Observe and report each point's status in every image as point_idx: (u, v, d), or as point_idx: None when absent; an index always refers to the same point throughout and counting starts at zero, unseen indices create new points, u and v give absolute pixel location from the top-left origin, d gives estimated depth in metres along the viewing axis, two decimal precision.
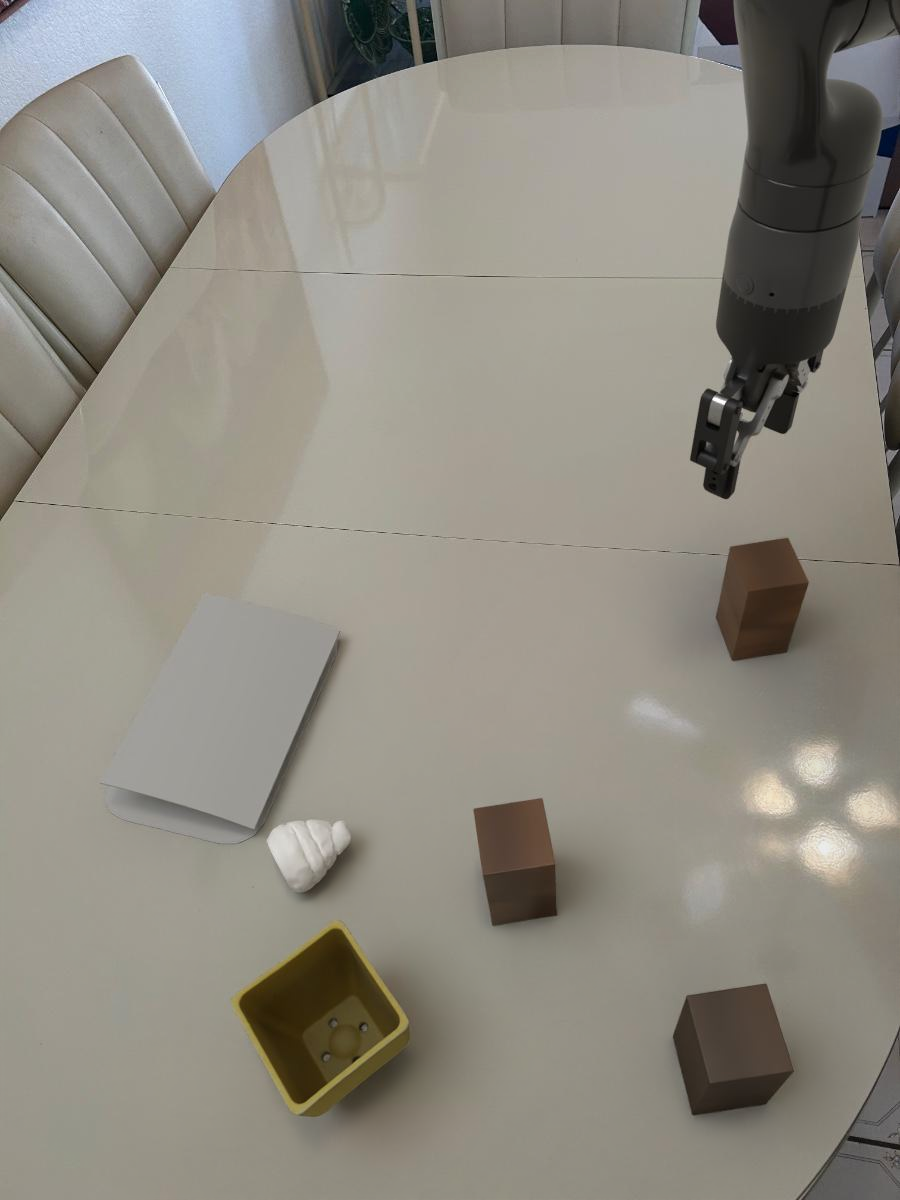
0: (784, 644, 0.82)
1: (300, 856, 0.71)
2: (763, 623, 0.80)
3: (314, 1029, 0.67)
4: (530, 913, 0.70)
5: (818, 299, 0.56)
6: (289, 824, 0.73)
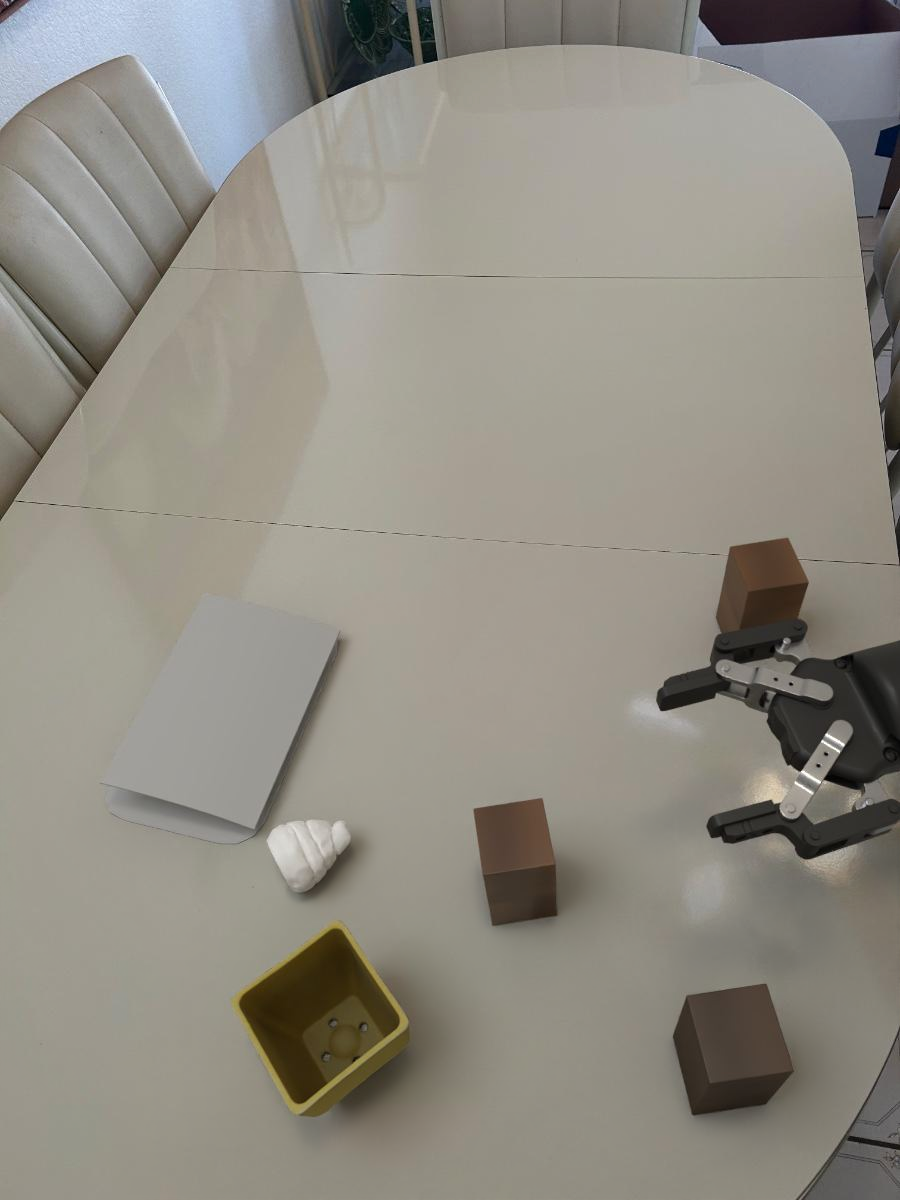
0: None
1: (300, 856, 0.71)
2: (763, 623, 0.80)
3: (314, 1029, 0.67)
4: (530, 913, 0.70)
5: None
6: (289, 824, 0.73)
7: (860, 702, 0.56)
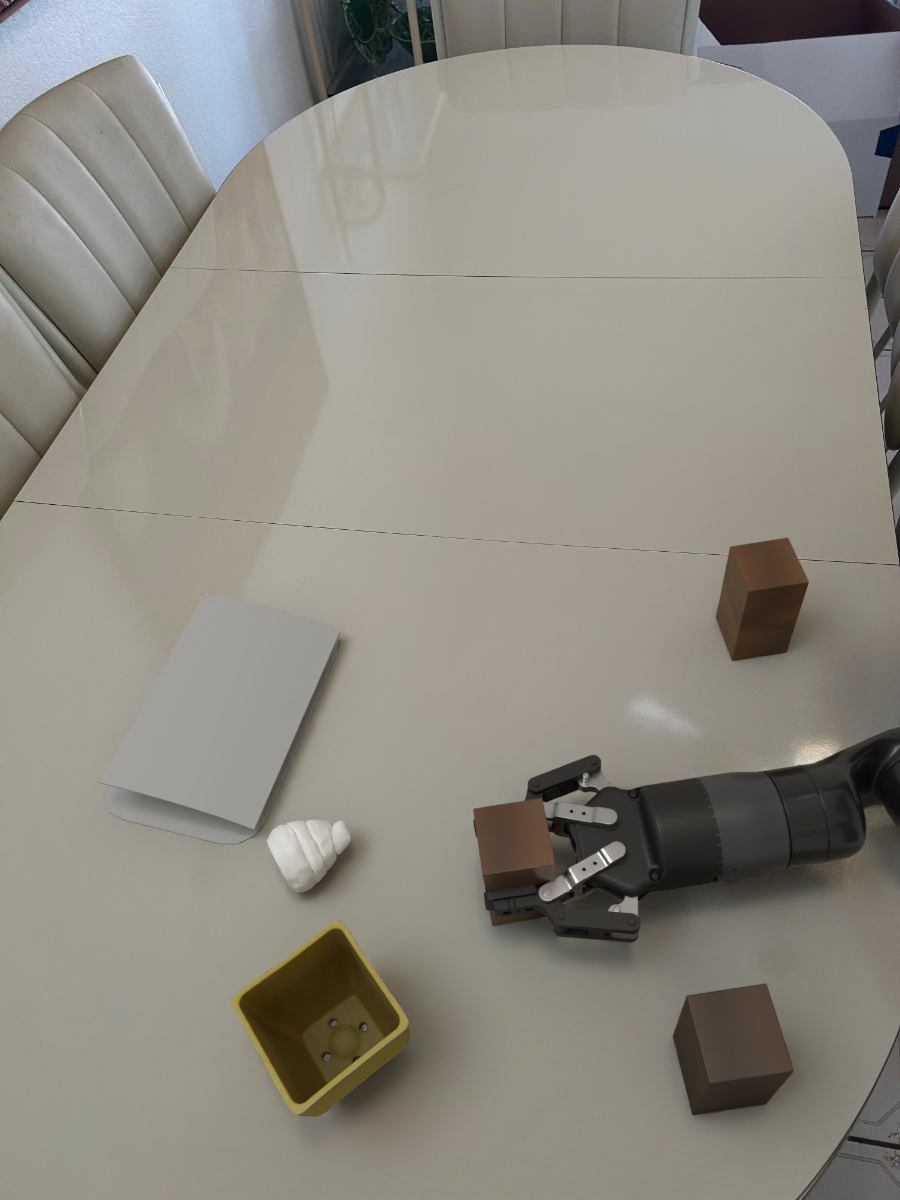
0: (784, 644, 0.82)
1: (300, 856, 0.71)
2: (763, 623, 0.80)
3: (314, 1029, 0.67)
4: (530, 913, 0.70)
5: (708, 783, 0.67)
6: (289, 824, 0.73)
7: (640, 828, 0.67)
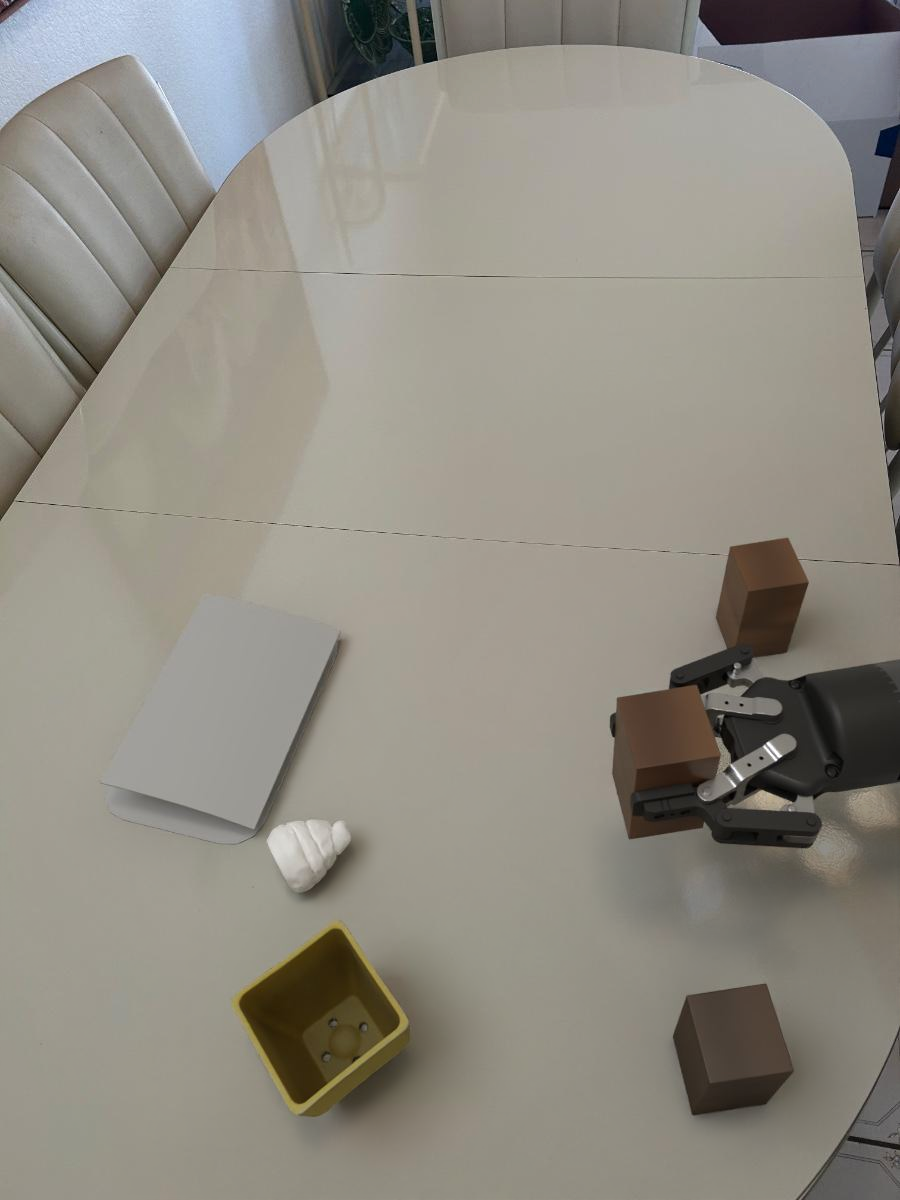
0: (784, 644, 0.82)
1: (300, 856, 0.71)
2: (763, 623, 0.80)
3: (314, 1029, 0.67)
4: (674, 824, 0.61)
5: (889, 667, 0.58)
6: (289, 824, 0.73)
7: (808, 721, 0.58)
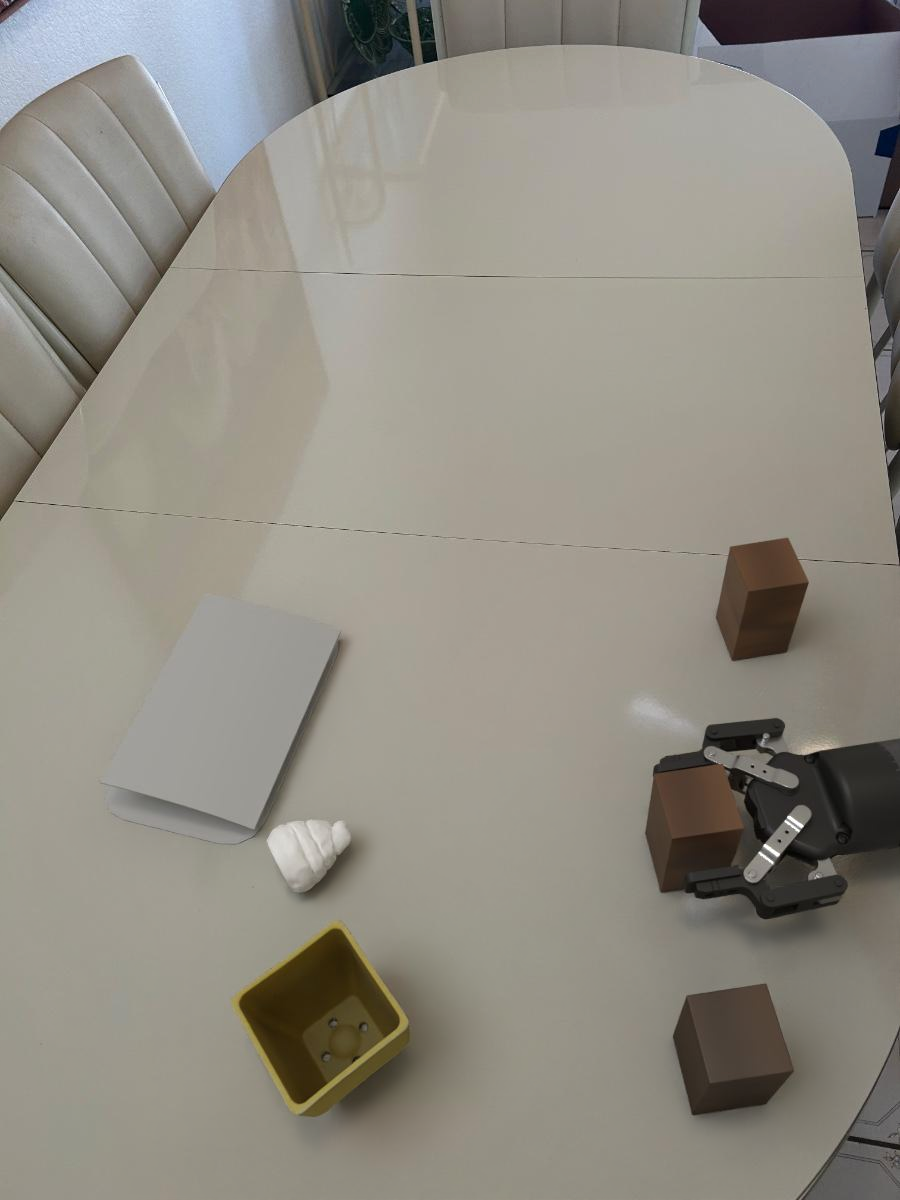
0: (784, 644, 0.82)
1: (300, 856, 0.71)
2: (763, 623, 0.80)
3: (314, 1029, 0.67)
4: None
5: (891, 747, 0.66)
6: (289, 824, 0.73)
7: (821, 792, 0.67)
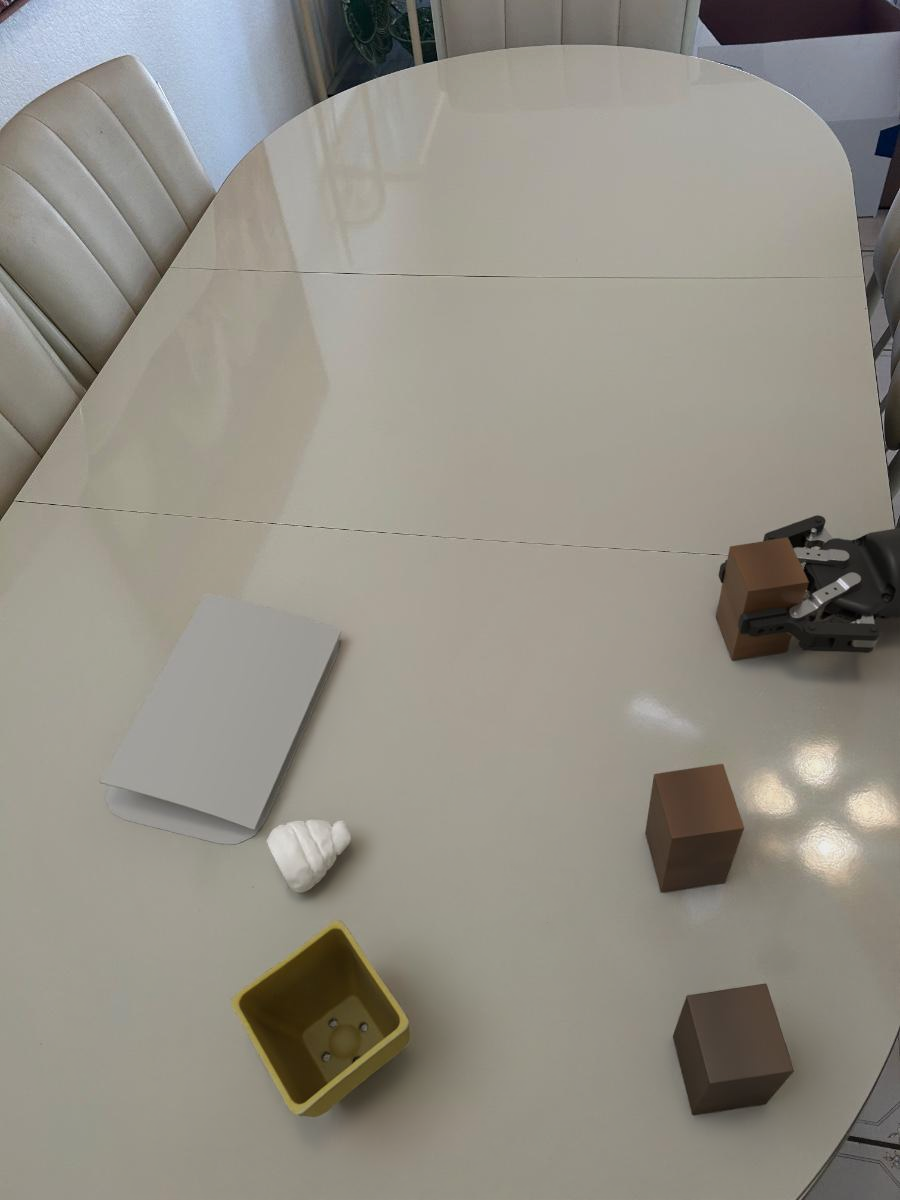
0: (784, 644, 0.82)
1: (300, 856, 0.71)
2: None
3: (314, 1029, 0.67)
4: (701, 880, 0.70)
5: None
6: (289, 824, 0.73)
7: (868, 565, 0.80)
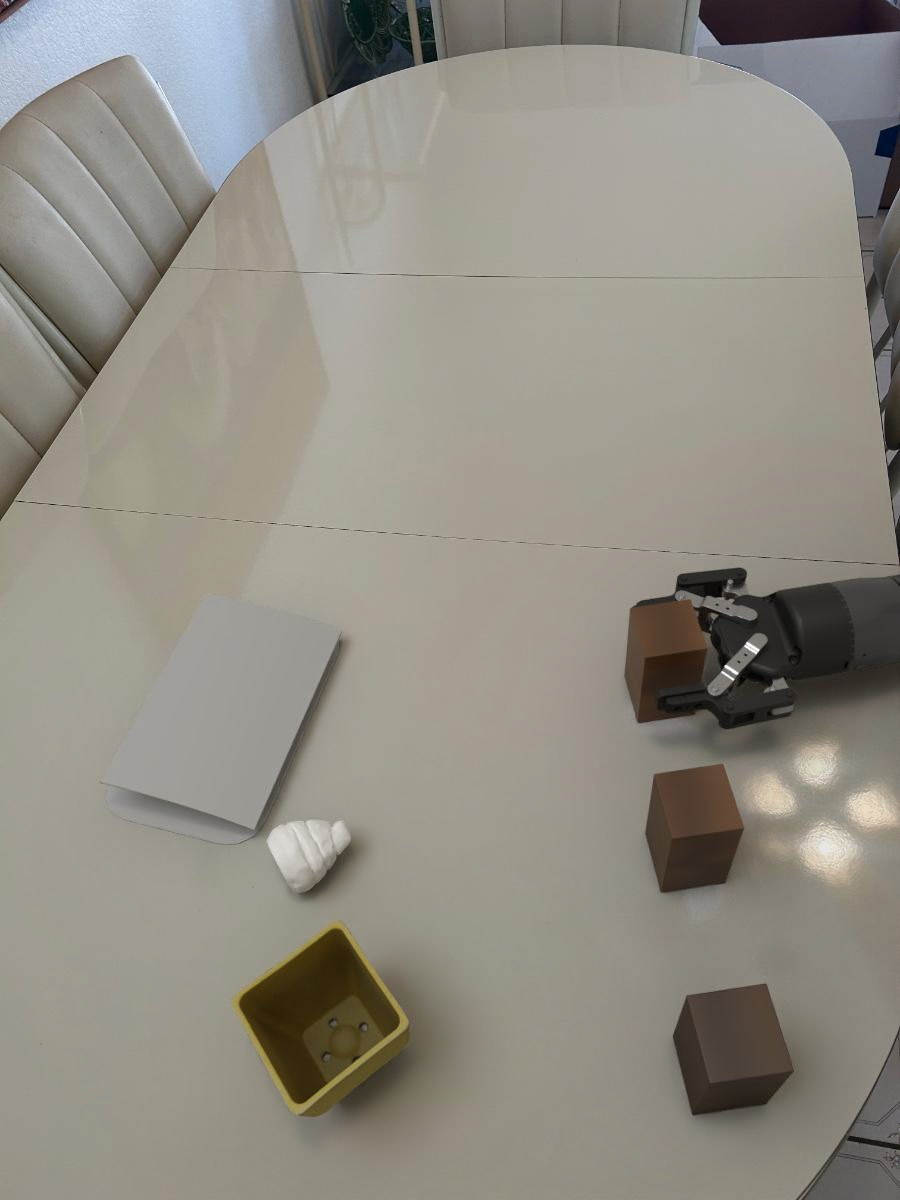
0: None
1: (300, 856, 0.71)
2: (664, 687, 0.77)
3: (314, 1029, 0.67)
4: (701, 880, 0.70)
5: (838, 584, 0.76)
6: (289, 824, 0.73)
7: (777, 625, 0.76)
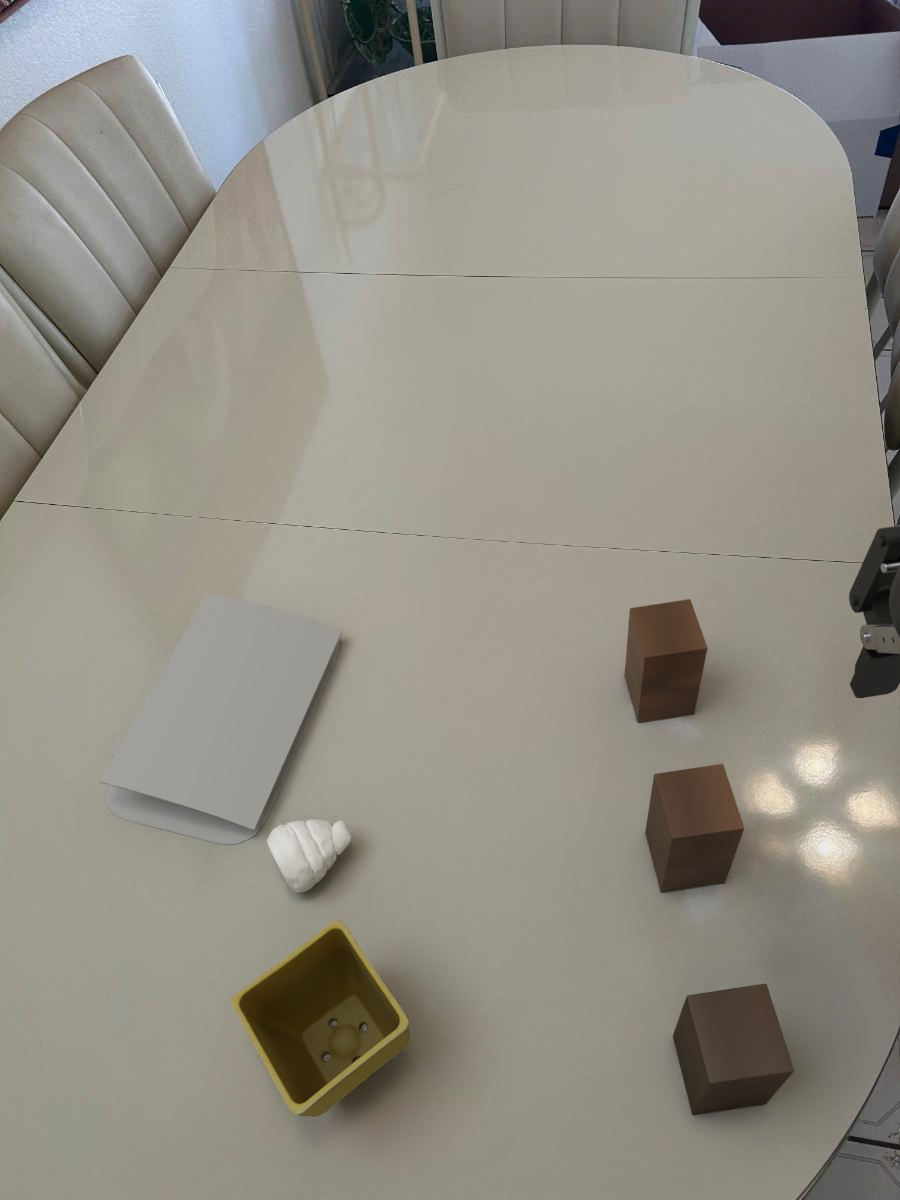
0: (690, 707, 0.80)
1: (300, 856, 0.71)
2: (664, 687, 0.77)
3: (314, 1029, 0.67)
4: (701, 880, 0.70)
5: None
6: (289, 824, 0.73)
7: None
